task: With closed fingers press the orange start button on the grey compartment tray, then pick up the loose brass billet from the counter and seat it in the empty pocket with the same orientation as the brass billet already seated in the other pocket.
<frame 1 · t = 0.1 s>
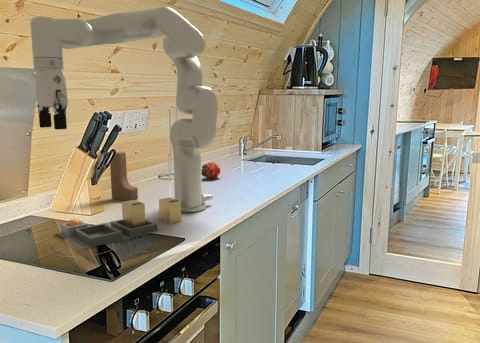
hand: (53, 128, 127), 31 cm above the worktop, fingers open, 9 cm apart
start button: (74, 224, 130), point 4 cm above the worktop, slide at 0.0 cm
grey compartment tray: (110, 236, 131), on the worktop
billet: (170, 225, 142), on the worktop
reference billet: (134, 229, 133), point 1 cm above the worktop, touching grey compartment tray
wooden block: (125, 199, 176), on the worktop
red bumpy rounded lump: (211, 179, 216), on the worktop
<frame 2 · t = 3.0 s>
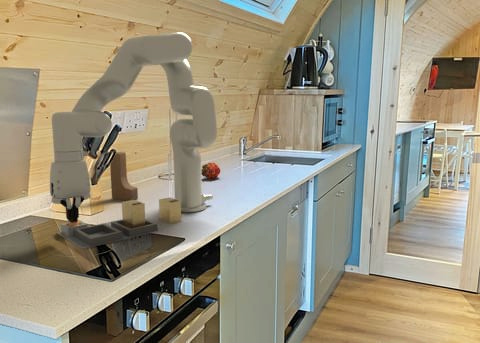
hand: (72, 221, 129), 5 cm above the worktop, fingers closed
start button: (74, 225, 130), point 4 cm above the worktop, slide at 0.1 cm, touching gripper
everything else where it was.
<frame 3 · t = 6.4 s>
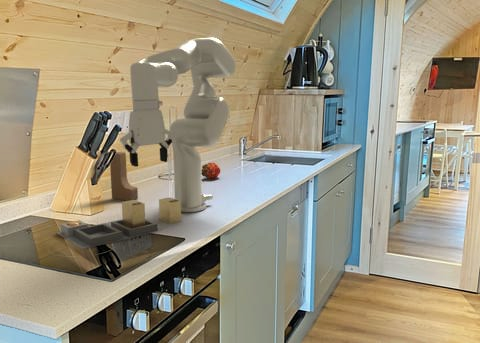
hand: (149, 163, 137), 20 cm above the worktop, fingers open, 9 cm apart
start button: (74, 227, 130), point 3 cm above the worktop, slide at 0.8 cm
everything else where it was.
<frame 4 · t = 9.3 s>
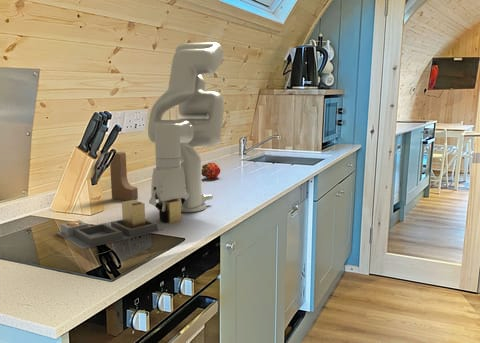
hand: (170, 220, 142), 1 cm above the worktop, fingers closed on billet, 4 cm apart
billet: (170, 225, 142), on the worktop, touching gripper
everything else where it was.
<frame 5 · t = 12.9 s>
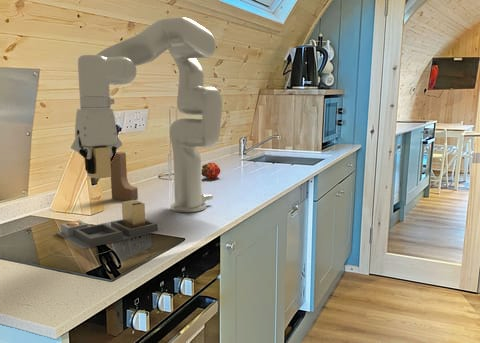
hand: (98, 171, 123), 20 cm above the worktop, fingers closed on billet, 4 cm apart
billet: (99, 176, 123), point 18 cm above the worktop, touching gripper
everything else where it was.
when the fingers open (4 cm above the worktop, at t = 16.4 s): billet stays where it is, resting on grey compartment tray.
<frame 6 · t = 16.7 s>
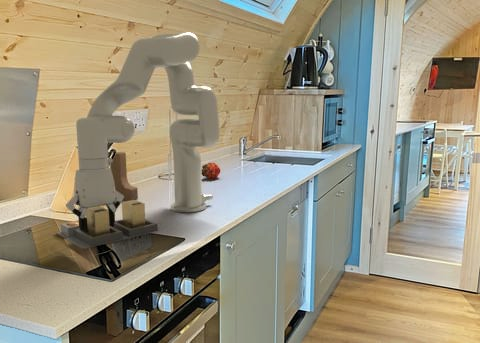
hand: (97, 227, 125), 4 cm above the worktop, fingers open, 7 cm apart
billet: (98, 237, 125), point 1 cm above the worktop, touching grey compartment tray
everything else where it was.
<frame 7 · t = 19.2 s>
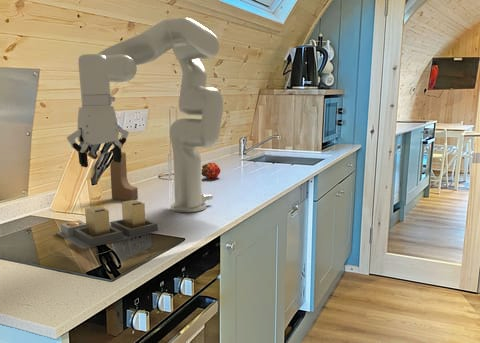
hand: (101, 164, 126), 21 cm above the worktop, fingers open, 9 cm apart
nothing on the worktop moved.
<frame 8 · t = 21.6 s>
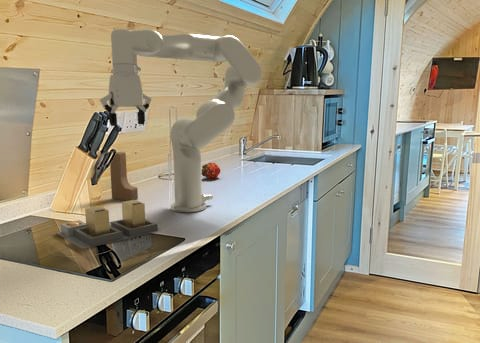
hand: (127, 125, 147), 30 cm above the worktop, fingers open, 9 cm apart
nothing on the worktop moved.
at the end: start button slide at 0.8 cm; billet 0.0 cm from the target spot on the grey compartment tray, point 1.5 cm above the grey compartment tray's base; billet tilted 0° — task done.
